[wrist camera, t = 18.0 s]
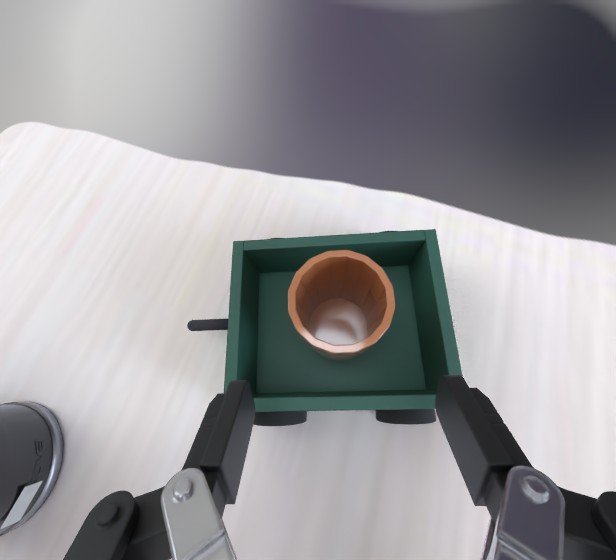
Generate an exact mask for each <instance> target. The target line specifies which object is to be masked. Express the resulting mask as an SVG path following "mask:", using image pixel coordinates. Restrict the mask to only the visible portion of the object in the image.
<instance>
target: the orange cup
mask: <svg viewBox="0 0 616 560" xmlns="http://www.w3.org/2000/svg"><path fill="white" fill-rule="evenodd" d="M394 310H395V299H394V291H393V286H392V284H391V282H390V280H389V279H388V277H387V275H386V273H385V272H384V270H383V269H382V267H380V266H379V265H378V264H376V263H375V262H374V261H373V260H371V259H370V258H369V257H368V256H366V255H363V254H359V253H356V252H353V251H350V250H334V251H326V252H324V253H322V254H319V255H317V256H315V257H313V258H310V259H309V260H308V261H307V262H306V263H305V264H304V265H303V266H302V267H301V268H300V269H299V270H298V271H297V272H296V273H295V275H294V278H293V280H292V283H291V285H290V288H289V290H288V312H289V315H290V317H291V319H292V322H293V324H294V326H295V329H296V330H297V332H298V333H299V334H300V335H301V337H302V338H303V339H304V340H305V341H306V342H307V344H308V345H309V346H310V347H311V348H312V349H313V350H314V351H315V352H316V353H317V354H318V355H319V356H320V357H323V358H325V359H327V360H331V361H348V360H350V359H352V358H354V357H356V356H359V355H360V354H361V353H363V352H364V351H365V350H367V349H368V348H369V347H371V346H372V345H373V344H375V343H376V342H377V341H378V339H379V338H380V337H381V336H382V335H383V334H384V333H385V331H386V330H387V329H388V328H389V326H390V323H391V320H392V316H393V313H394Z"/></svg>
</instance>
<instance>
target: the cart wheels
mask: <svg viewBox="0 0 616 560" xmlns="http://www.w3.org/2000/svg"><path fill="white" fill-rule="evenodd" d="M385 232H398V231H385ZM379 233H381V232H379ZM272 239H282V238H272ZM187 326H188V329H189V330H191V331H204V330H228V319H210V320H192V321H190V322H189V323H188V325H187ZM376 419H377V420H378V421H380V422H385V423H392V424H426V423H432V422H435V421H436V416H435V410H434V409H390V410H376ZM305 421H306V411H272V412H255V418H254V423H253V424H254V425H260V426H286V425H294V424H300V423H303V422H305Z"/></svg>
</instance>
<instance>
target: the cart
mask: <svg viewBox="0 0 616 560" xmlns="http://www.w3.org/2000/svg"><path fill="white" fill-rule="evenodd" d="M334 250H350V251H353V252H356V253H359V254H363V255H366V256H368V257H369V258H370V259H371V260H373V261H374V262H375V263H376V264H378V265H379V266H380V267H382V269H383V270H384V272H385V273H386V275H387V277H388V279H389V280H390V282H391V284H392V286H393V291H394V299H395V310H394V313H393V316H392V320H391V323H390V326H389V328H388V329H387V330H386V331H385V333H384V334H383V335H382V336H381V337H380V338H379V339H378V341H377V342H376V343H375V344H373V345H372V346H371V347H369V348H368V349H367V350H365V351H364V352H363V353H361V354H360V355H359V356H356V357H354V358H352V359H350V360H348V361H331V360H327V359H325V358H323V357H320V356H319V355H318V354H317V353H316V352H315V351H314V350H313V349H312V348H311V347H310V346H309V345H308V344H307V342H306V341H305V340H304V339H303V338H302V337H301V335H300V334H299V333H298V332H297V330H296V329H295V326H294V324H293V322H292V319H291V317H290V315H289V312H288V290H289V288H290V285H291V283H292V280H293V278H294V275H295V273H296V272H297V271H298V270H299V269H300V268H301V267H302V266H303V265H304V264H305V263H306V262H307V261H308V260H309V259H310V258H313V257H315V256H317V255H319V254H322V253H324V252H326V251H334ZM441 375H461V376H462V372H461V366H460V361H459V355H458V350H457V344H456V339H455V333H454V328H453V323H452V317H451V312H450V306H449V301H448V295H447V290H446V284H445V279H444V273H443V268H442V263H441V257H440V252H439V246H438V241H437V235H436V230H435V229H433V230H414V231H398V232H381V233H365V234H348V235H332V236H315V237H299V238H282V239H266V240H249V241H234V242H233V255H232V271H231V287H230V303H229V319H228V335H227V351H226V367H225V383H224V393H226V391H227V388H228V385H229V383H230V381H231V380H249V382H250V385H251V390H252V394H253V399H254V403H255V412H272V411H331V410H390V409H436V407H435V399H436V393H437V388H438V382H439V377H440V376H441Z"/></svg>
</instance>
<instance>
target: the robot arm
mask: <svg viewBox="0 0 616 560" xmlns="http://www.w3.org/2000/svg"><path fill="white" fill-rule="evenodd" d="M435 407H436V412H437V416H438V418H439V421H440V423H441V426H442V428H443V430H444V433H445V435H446V438H447V440H448V442H449V445H450V447H451V450H452V452H453V454H454V457H455V459H456V462H457V464H458V466H459V469H460V471H461V474H462V476H463V478H464V481H465V483H466V486H467V488H468V490H469V493H470V495H471V498H472V500H473V502H474V505H475V506H487V509H488V511H489V513H490V515H491V518H490V521H489V525H488V530H487V534H486V539H485V543H484V548H483V552H482V557H481V560H616V492H613V491H609V492H604V493H602V494H601V495H600V496H599V498H598V499H595V498H592V497H588V496H585V495H582V494H578V493H575V492H572V491H568V490H566V489H563V488H560V487H558V486H557V485H556V484H555V483H554V482H553V481H552V480H551V479H550V478H549V477H547V476H546V475H545V474H543V473H542V472H540V471H538V470H536V469H534V468H533V466H532V465H531V464H530V462H529V461H528V459H527V457H526V456H525V454H524V453H523V451H522V450H521V448H520V447H519V445H518V443H517V442H516V440H515V439H514V437H513V436H512V434H511V432H510V431H509V429H508V428H507V426H506V425H505V424H504V423H503V420H502V418H501V417H500V415H499V414H498V413H497V410H496V409H495V407H494V406H493V404H492V403H491V401H490V400H489V398H488V397H487V396H485V395H484V394H483V393H482V392H481V391H480V390H478V389H477V388H469V387H468V385H467V383H466V382H465V380H464V378H463V377H462V376H461V375H441V376H440V377H439V382H438V388H437V393H436V399H435ZM254 418H255V403H254V399H253V394H252V390H251V385H250V382H249V380H231V381H230V383H229V385H228V388H227V391H226V393H224V394H217V396H216V397H215V398H214V399H213V400H212V401H211V402H210V404H209V406H208V408H207V411H206V413H205V415H204V418H203V420H202V423H201V425H200V428H199V430H198V433H197V435H196V437H195V440H194V442H193V445H192V447H191V450H190V452H189V454H188V457H187V459H186V462H185V464H184V466H183V468H182V470H181V471H180V472H178V473H177V474H176V475H174V476H173V477H172V478H171V479H170V480H169V481H168V483H167V484H166V486H164V487H162V488H160V489H158V490H155V491H152V492H149V493H146V494H143V495H141V496H138V497H135V498H134V497H133V496H132V494H131V493H129V492H127V491H117V492H114V493H112V494H110V495H108V496H106V497H105V498H104V499H102V500H101V501H100V502H99V503H98V504H97V505H96V506H95V507H94V508H93V509H92V510H91V512H90V513H89V515H88V516H87V518H86V520H85V521H84V523H83V525H82V527H81V529H80V530H79V532H78V534H77V536H76V538H75V539H74V541H73V543H72V545H71V546H70V548H69V550H68V552H67V554H66V555H65V557H64V559H63V560H169V559H171V558H172V560H237V558H236V556H235V553H234V550H233V548H232V545H231V542H230V539H229V537H228V534H227V531H226V528H225V526H224V523H223V520H222V516H223V512H224V508H225V504H235V501H236V496H237V492H238V488H239V483H240V479H241V475H242V470H243V466H244V462H245V457H246V453H247V449H248V444H249V440H250V436H251V431H252V427H253V423H254ZM62 455H63V440H62V434H61V430H60V427H59V425H58V422H57V421H56V419H55V417H54V416H53V415H52V414H51V412H50V411H48V410H47V409H46V408H45V407H43V406H41V405H39V404H36V403H33V402H12V403H5V404H1V405H0V536H1V535H3V534H5V533H8V532H10V531H12V530H13V529H15V528H17V527H19V526H20V525H22V524H23V523H24V522H26V521H27V520H28V519H29V518H30V517H32V516H33V515H34V514H35V513H36V512H37V510H38V509H39V508H40V507H41V506H42V504H43V503H44V502H45V500H46V499H47V497H48V496H49V494H50V492H51V490H52V488H53V486H54V484H55V482H56V479H57V477H58V474H59V471H60V467H61V462H62Z"/></svg>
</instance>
